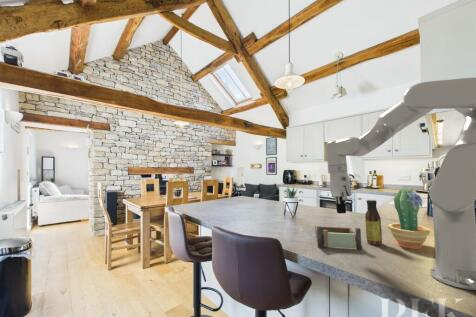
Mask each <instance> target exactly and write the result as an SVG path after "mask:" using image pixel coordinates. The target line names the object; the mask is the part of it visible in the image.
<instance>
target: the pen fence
mask: <svg viewBox="0 0 476 317" xmlns="http://www.w3.org/2000/svg"><path fill="white" fill-rule="evenodd" d="M354 229H355V231H354V230H353V229H352V227H340V226H339V227H338V226H320V225H318V226H317V225H316V226H314V230H315V231H314V232H315V239H316V242H317V248H319V249H323V246H324V232H323V230H327V232H331V233H351V234H355V250H356V251H362V233H361V227H355V228H354Z"/></svg>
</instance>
